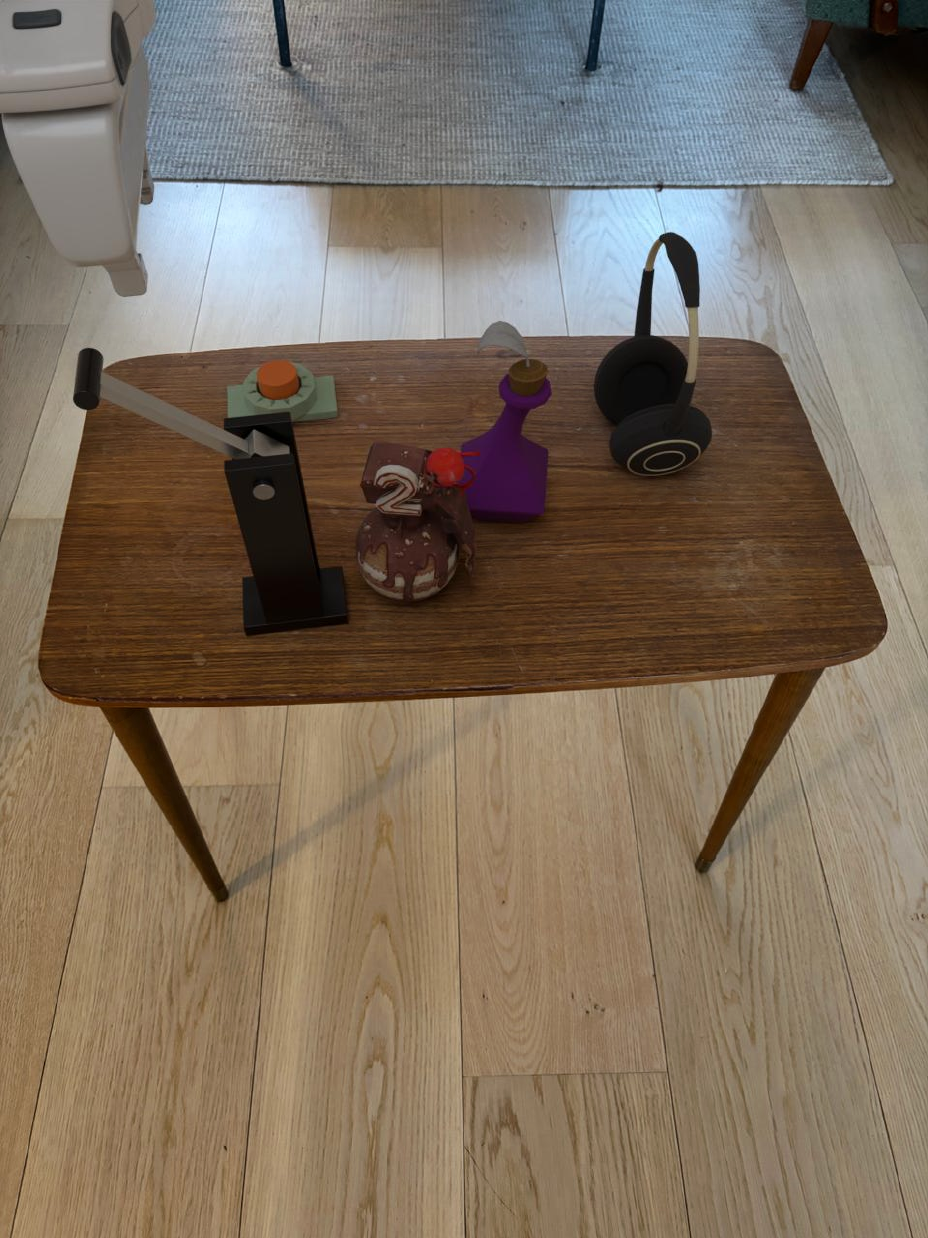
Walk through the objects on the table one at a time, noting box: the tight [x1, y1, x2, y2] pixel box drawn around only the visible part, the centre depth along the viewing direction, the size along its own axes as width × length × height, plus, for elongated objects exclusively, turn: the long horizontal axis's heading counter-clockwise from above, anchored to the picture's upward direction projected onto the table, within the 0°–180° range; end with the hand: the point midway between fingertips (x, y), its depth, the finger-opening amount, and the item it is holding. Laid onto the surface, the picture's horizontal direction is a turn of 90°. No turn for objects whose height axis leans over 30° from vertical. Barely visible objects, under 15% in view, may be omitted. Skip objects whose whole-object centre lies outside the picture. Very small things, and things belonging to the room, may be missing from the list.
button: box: [257, 359, 299, 400], centre depth 90 cm, size 4×4×2 cm
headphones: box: [593, 231, 713, 477], centre depth 81 cm, size 9×15×20 cm, turn 6°
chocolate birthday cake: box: [355, 439, 481, 602], centre depth 74 cm, size 9×8×15 cm
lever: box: [72, 347, 290, 459], centre depth 62 cm, size 14×4×2 cm
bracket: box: [223, 411, 349, 637], centre depth 71 cm, size 8×6×18 cm
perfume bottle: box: [455, 320, 553, 525], centre depth 78 cm, size 8×8×18 cm
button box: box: [226, 360, 339, 423], centre depth 91 cm, size 10×6×2 cm, turn 99°
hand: (137, 241), depth 60 cm, fingers open, 8 cm apart
